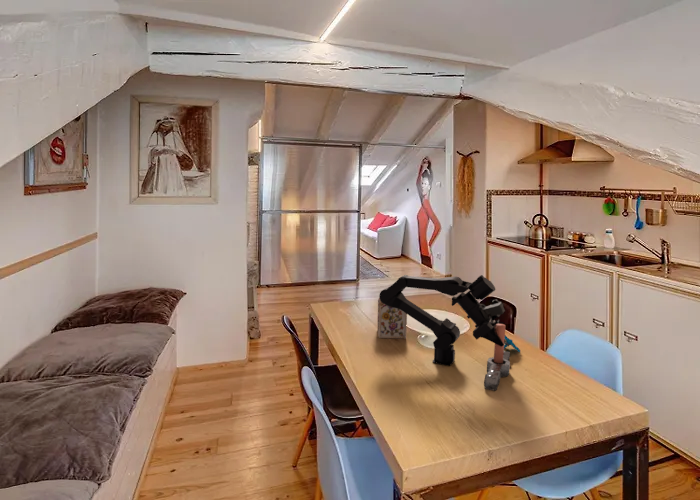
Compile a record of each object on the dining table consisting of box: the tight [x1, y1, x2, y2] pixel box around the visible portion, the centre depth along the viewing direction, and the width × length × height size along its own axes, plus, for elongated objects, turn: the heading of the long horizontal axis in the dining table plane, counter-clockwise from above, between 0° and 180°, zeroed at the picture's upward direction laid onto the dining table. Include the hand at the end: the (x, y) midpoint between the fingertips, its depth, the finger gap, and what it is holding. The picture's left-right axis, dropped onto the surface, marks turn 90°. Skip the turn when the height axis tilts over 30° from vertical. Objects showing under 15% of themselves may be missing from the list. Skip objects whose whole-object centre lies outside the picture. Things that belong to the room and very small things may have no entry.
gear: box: [504, 334, 521, 353], centre depth 165 cm, size 11×6×10 cm
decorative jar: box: [377, 297, 408, 339], centre depth 182 cm, size 12×12×18 cm
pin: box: [493, 323, 506, 363], centre depth 144 cm, size 3×3×13 cm
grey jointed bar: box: [483, 350, 511, 392], centre depth 145 cm, size 7×30×4 cm, turn 152°
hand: (503, 344), depth 144 cm, fingers closed on pin, 3 cm apart
